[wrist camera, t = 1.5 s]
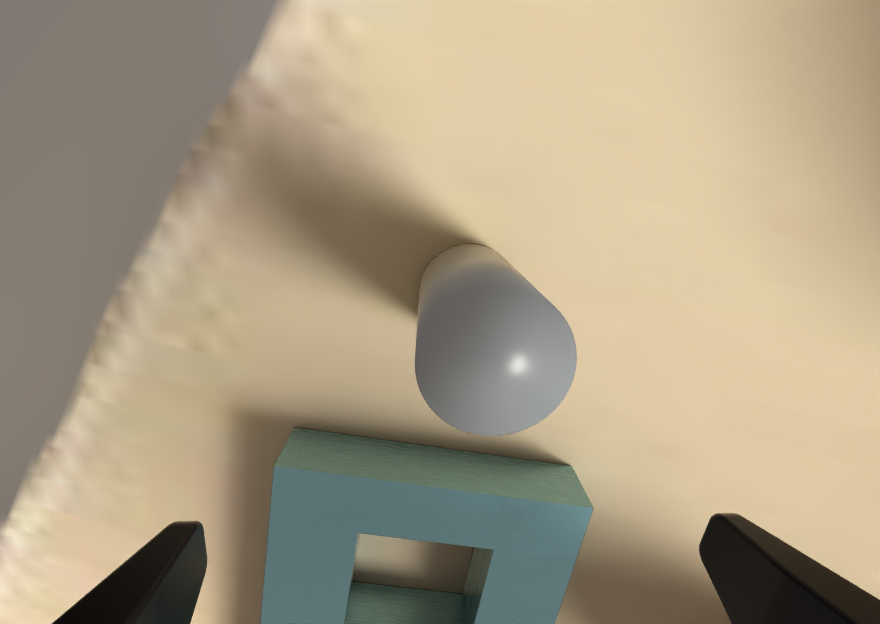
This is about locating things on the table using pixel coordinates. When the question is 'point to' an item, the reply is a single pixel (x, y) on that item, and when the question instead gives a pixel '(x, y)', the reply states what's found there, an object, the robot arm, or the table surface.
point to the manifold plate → (418, 531)
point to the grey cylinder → (489, 344)
